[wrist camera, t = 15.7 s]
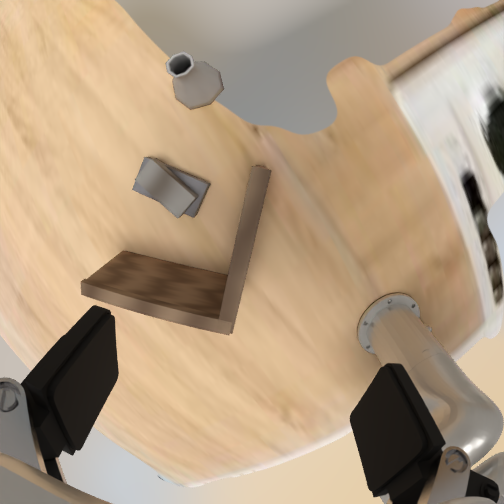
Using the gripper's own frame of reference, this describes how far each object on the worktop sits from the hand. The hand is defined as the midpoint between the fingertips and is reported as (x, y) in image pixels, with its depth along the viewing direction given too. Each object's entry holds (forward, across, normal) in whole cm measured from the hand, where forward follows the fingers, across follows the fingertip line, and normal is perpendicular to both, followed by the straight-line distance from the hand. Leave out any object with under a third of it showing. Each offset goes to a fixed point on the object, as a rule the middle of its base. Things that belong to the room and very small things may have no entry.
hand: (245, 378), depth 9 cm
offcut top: (+30, +12, -1) cm, 33 cm away
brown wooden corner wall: (+32, +10, +3) cm, 34 cm away
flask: (+33, +12, -16) cm, 38 cm away
